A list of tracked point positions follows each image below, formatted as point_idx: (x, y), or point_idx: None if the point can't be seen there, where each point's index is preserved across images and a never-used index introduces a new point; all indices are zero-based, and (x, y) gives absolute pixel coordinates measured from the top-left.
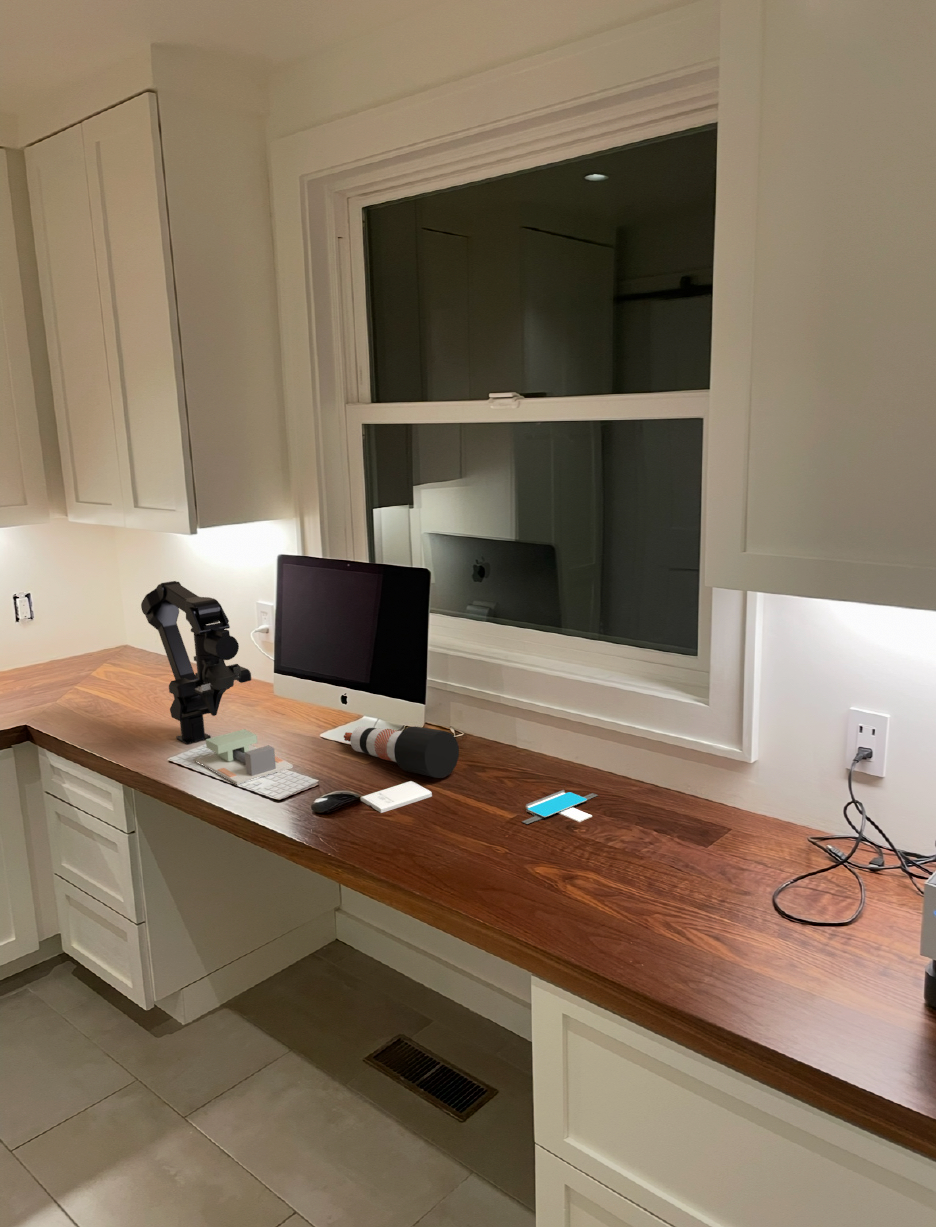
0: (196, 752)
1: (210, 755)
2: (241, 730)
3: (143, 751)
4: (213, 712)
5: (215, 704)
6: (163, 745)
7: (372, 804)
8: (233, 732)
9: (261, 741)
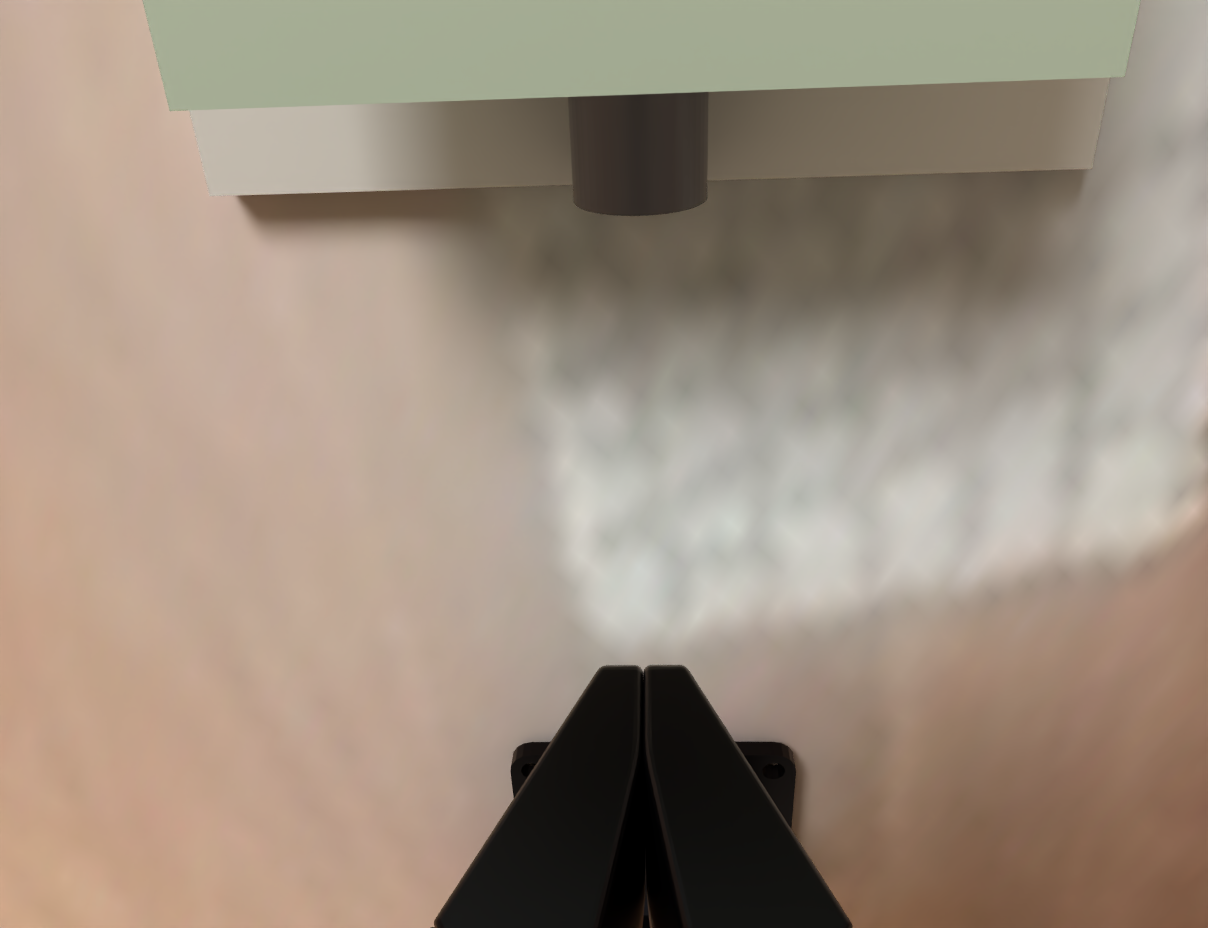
0: (845, 490)
1: (866, 147)
2: (252, 57)
3: (1175, 851)
4: (688, 713)
5: (612, 890)
6: (952, 862)
7: None
8: (446, 65)
9: (26, 272)
